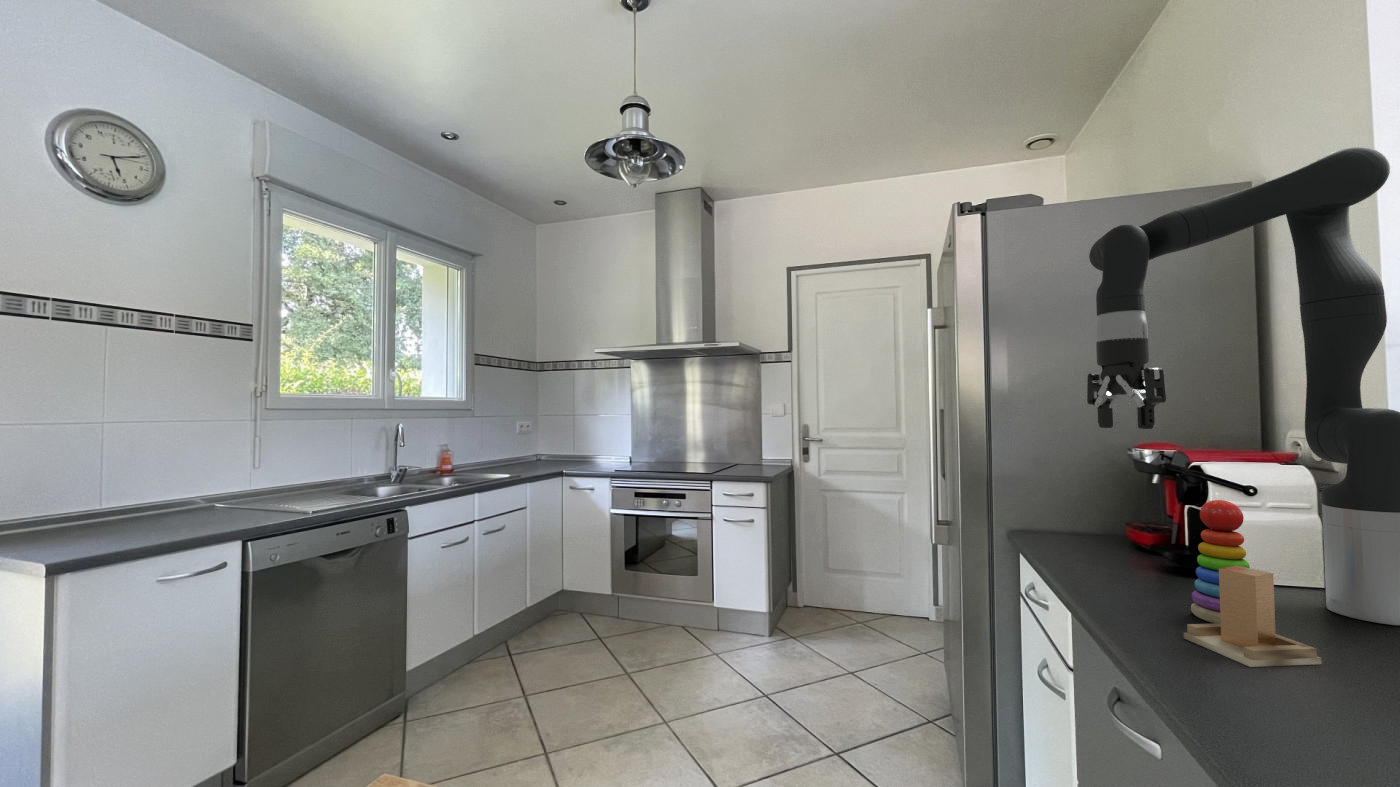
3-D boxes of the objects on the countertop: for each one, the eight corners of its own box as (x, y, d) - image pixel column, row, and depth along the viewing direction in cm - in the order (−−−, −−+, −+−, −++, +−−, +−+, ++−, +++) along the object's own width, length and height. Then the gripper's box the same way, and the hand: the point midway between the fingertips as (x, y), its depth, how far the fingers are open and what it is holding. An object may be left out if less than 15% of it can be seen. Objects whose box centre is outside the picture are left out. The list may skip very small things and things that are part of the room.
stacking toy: (1275, 632, 82) (1271, 505, 83) (1213, 628, 84) (1208, 503, 84) (1235, 613, 90) (1231, 497, 90) (1179, 609, 91) (1175, 496, 92)
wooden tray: (1247, 636, 80) (1247, 622, 80) (1321, 664, 71) (1321, 648, 71) (1183, 638, 80) (1183, 624, 80) (1250, 666, 71) (1249, 651, 71)
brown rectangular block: (1221, 640, 77) (1218, 568, 77) (1239, 636, 78) (1236, 565, 79) (1258, 652, 73) (1255, 576, 74) (1276, 647, 74) (1273, 573, 75)
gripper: (1177, 333, 93) (1181, 429, 92) (1109, 343, 107) (1112, 427, 107) (1135, 333, 93) (1139, 429, 92) (1072, 343, 107) (1075, 427, 106)
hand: (1125, 428), depth 99 cm, fingers open, 8 cm apart
